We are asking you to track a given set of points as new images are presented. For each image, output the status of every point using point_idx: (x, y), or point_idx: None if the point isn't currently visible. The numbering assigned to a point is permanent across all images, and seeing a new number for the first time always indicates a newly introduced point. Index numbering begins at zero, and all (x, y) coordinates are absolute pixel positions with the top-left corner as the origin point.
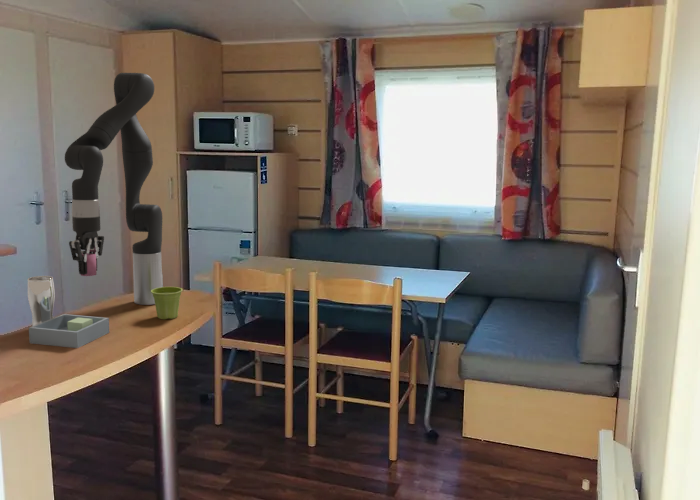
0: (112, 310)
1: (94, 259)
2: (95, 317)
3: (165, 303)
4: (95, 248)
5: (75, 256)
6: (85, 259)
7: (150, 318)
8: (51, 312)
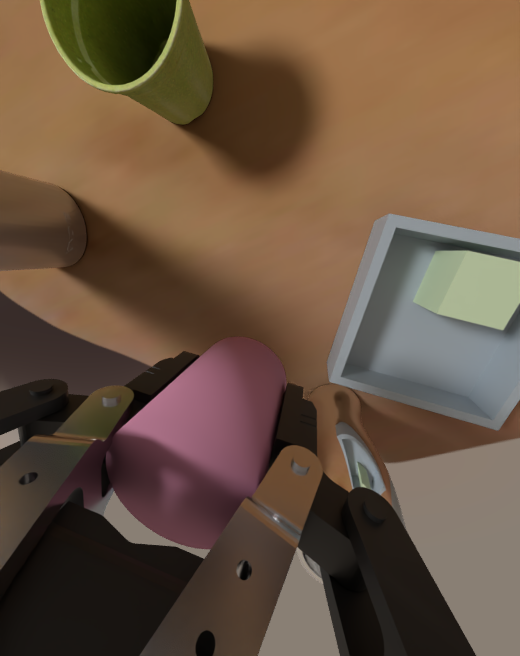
0: (152, 297)
1: (210, 394)
2: (379, 267)
3: (192, 15)
4: (64, 483)
5: (359, 587)
6: (308, 465)
7: (208, 144)
8: (342, 414)
